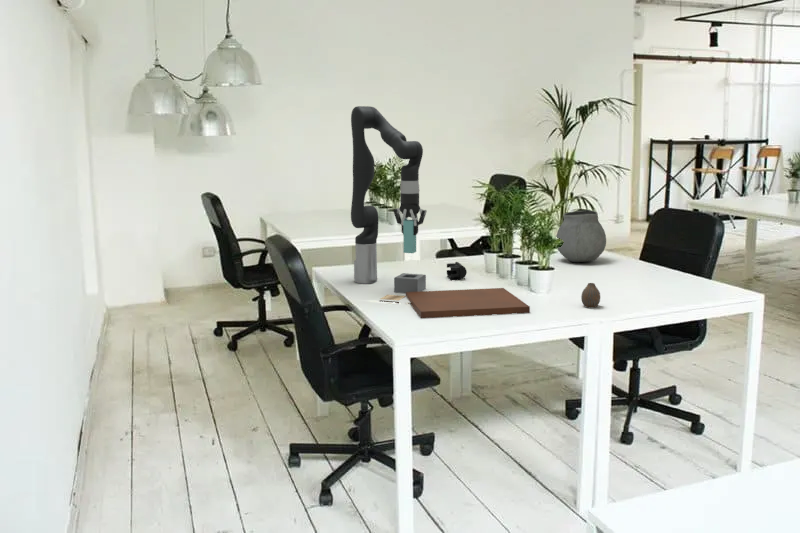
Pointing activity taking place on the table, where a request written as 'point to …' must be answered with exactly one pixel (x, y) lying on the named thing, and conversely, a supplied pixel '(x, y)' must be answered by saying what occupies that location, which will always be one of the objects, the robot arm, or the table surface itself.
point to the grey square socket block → (409, 283)
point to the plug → (409, 236)
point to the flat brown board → (465, 302)
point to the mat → (392, 298)
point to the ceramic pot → (581, 236)
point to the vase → (590, 296)
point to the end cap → (456, 271)
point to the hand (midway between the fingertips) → (409, 234)
